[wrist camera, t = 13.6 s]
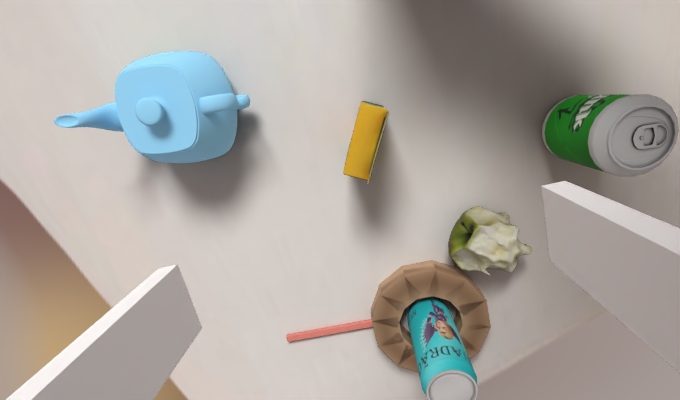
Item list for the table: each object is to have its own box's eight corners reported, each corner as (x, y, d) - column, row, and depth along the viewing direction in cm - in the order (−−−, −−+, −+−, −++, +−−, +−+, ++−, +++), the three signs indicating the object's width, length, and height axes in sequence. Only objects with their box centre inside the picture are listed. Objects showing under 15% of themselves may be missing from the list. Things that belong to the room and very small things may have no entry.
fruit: (430, 219, 50) (444, 227, 42) (497, 193, 50) (524, 196, 42) (455, 282, 51) (474, 302, 43) (522, 257, 50) (553, 272, 42)
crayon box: (361, 100, 45) (361, 101, 34) (384, 106, 45) (392, 109, 34) (345, 159, 47) (341, 178, 36) (368, 164, 47) (370, 186, 36)
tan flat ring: (362, 274, 51) (362, 284, 48) (473, 252, 50) (480, 261, 47) (385, 365, 55) (386, 380, 52) (488, 347, 53) (496, 362, 51)
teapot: (29, 57, 36) (212, 30, 34) (103, 65, 46) (246, 45, 44) (69, 186, 39) (238, 166, 37) (130, 167, 49) (264, 151, 48)
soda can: (602, 153, 46) (685, 172, 34) (538, 163, 46) (598, 185, 35) (603, 89, 44) (691, 87, 32) (536, 100, 44) (598, 102, 33)
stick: (287, 334, 55) (286, 337, 54) (372, 319, 53) (372, 321, 53) (288, 339, 55) (287, 341, 54) (373, 323, 53) (373, 326, 53)
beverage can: (448, 292, 51) (483, 369, 37) (447, 329, 53) (479, 416, 39) (406, 293, 52) (424, 369, 37) (406, 329, 53) (422, 415, 39)
